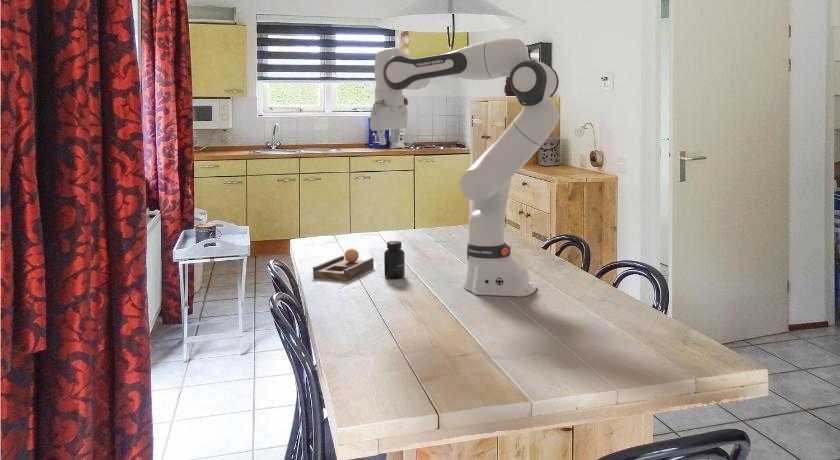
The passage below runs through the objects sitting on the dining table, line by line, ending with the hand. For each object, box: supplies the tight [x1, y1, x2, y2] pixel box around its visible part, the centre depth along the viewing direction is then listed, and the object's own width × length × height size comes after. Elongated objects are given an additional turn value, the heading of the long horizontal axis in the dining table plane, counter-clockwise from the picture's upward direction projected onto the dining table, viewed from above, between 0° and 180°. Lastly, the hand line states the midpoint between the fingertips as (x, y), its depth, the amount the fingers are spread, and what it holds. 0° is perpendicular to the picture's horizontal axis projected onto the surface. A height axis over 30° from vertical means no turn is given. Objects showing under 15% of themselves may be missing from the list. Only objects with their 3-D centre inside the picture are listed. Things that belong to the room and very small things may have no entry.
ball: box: [344, 248, 360, 263], centre depth 236 cm, size 5×5×5 cm
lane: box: [312, 255, 375, 282], centre depth 232 cm, size 13×19×4 cm
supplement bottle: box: [383, 240, 406, 280], centre depth 225 cm, size 7×7×12 cm
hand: (389, 143), depth 218 cm, fingers open, 8 cm apart
